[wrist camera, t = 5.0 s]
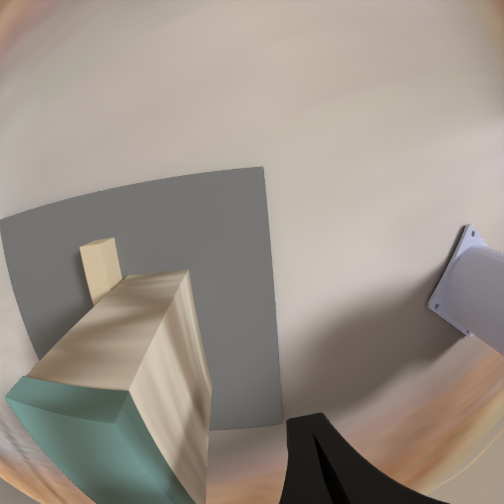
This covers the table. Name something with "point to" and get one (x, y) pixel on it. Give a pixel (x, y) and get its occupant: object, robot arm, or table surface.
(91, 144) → the table surface
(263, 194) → the rubber mat
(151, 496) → the ash slab
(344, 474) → the robot arm
